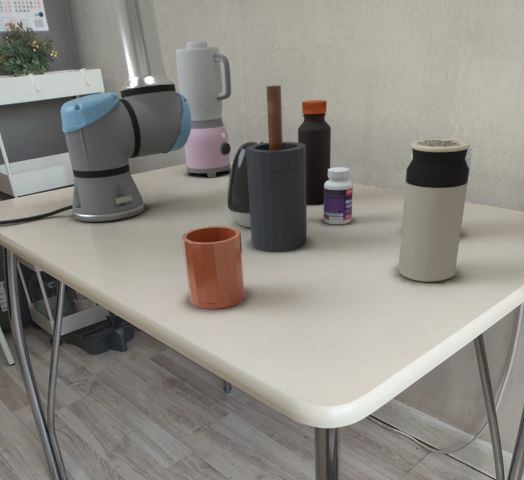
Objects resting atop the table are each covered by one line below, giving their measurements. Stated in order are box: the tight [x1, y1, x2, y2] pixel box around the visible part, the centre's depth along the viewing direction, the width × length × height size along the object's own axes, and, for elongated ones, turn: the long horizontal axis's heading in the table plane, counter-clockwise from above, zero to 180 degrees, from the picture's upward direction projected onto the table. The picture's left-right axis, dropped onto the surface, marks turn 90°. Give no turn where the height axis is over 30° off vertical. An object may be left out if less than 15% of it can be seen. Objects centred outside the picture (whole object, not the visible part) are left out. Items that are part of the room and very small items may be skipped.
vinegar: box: [297, 99, 332, 205], centre depth 112 cm, size 7×7×20 cm
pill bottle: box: [323, 166, 354, 225], centre depth 101 cm, size 5×5×10 cm
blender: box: [175, 40, 232, 178], centre depth 141 cm, size 16×12×32 cm
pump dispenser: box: [226, 141, 265, 229], centre depth 100 cm, size 10×10×15 cm
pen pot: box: [181, 225, 246, 310], centre depth 72 cm, size 8×8×9 cm
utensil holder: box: [246, 141, 308, 253], centre depth 89 cm, size 10×10×16 cm
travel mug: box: [397, 138, 472, 283], centre depth 74 cm, size 8×8×18 cm
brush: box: [266, 84, 284, 150], centre depth 87 cm, size 4×4×24 cm
